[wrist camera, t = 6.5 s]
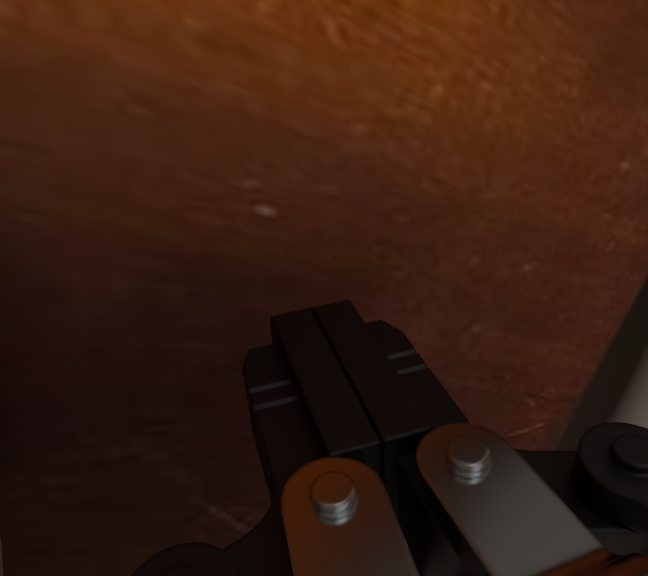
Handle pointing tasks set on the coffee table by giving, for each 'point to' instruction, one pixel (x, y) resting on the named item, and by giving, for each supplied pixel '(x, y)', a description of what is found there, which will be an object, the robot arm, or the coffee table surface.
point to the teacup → (0, 565)
